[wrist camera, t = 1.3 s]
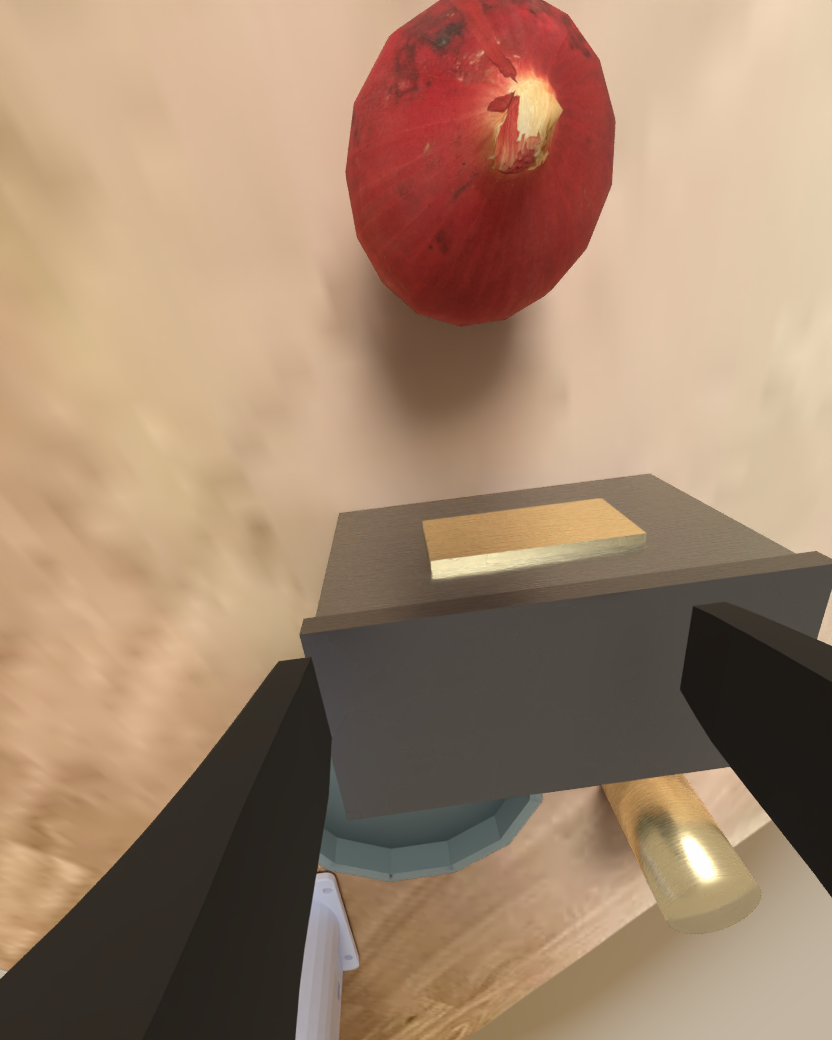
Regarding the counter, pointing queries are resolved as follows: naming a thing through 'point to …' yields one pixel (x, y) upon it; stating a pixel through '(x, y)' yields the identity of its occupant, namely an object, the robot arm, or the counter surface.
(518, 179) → the onion
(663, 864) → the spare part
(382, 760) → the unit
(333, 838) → the plate
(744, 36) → the counter surface
